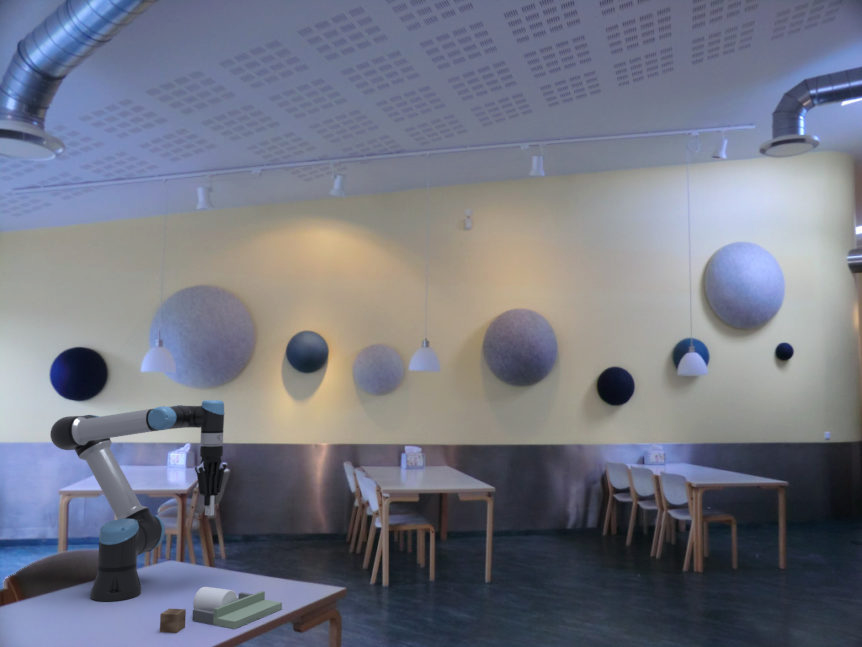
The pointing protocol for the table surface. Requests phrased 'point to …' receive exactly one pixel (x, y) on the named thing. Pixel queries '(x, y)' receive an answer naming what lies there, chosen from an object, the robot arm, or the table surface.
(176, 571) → the table surface
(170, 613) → the walnut block
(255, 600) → the green holder tray
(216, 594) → the mug
